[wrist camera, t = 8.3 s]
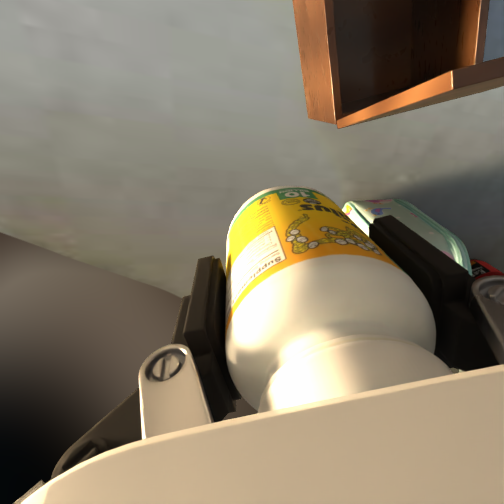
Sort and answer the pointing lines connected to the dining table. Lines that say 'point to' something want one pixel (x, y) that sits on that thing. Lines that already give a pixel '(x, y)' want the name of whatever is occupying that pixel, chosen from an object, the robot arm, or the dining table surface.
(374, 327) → the supplement bottle
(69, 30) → the dining table surface
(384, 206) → the lunch box
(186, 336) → the robot arm
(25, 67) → the dining table surface
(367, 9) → the chest
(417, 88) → the lid
